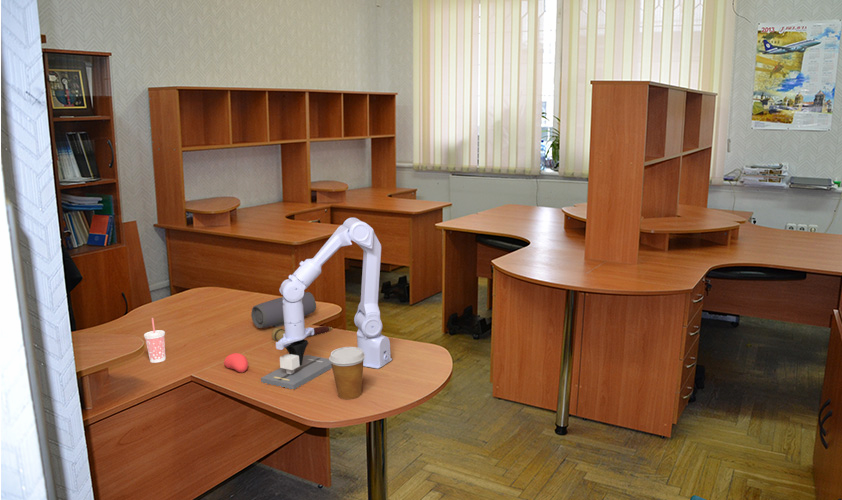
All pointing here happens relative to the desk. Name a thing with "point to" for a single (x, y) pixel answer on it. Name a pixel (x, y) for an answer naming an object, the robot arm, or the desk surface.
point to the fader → (289, 362)
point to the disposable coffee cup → (348, 371)
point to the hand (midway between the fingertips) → (297, 365)
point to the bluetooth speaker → (278, 311)
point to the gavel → (279, 332)
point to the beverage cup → (155, 344)
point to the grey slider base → (299, 373)
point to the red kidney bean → (236, 362)
